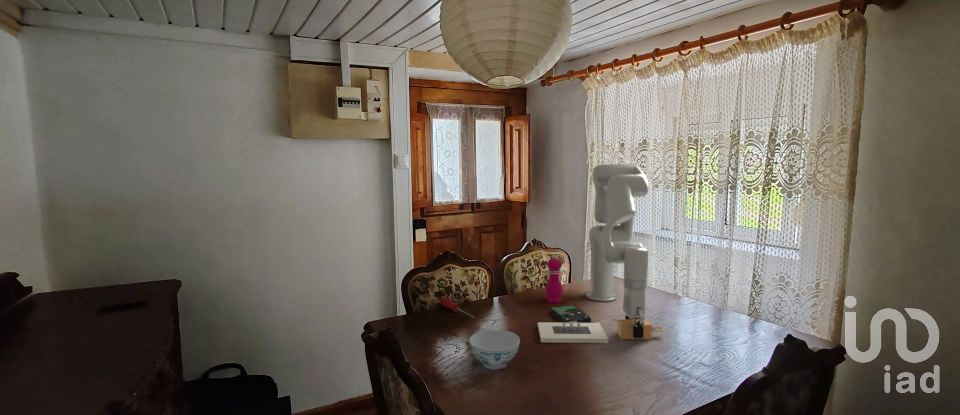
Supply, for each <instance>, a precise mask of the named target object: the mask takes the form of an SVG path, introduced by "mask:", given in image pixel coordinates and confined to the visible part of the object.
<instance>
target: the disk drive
mask: <svg viewBox="0 0 960 415" xmlns="http://www.w3.org/2000/svg"><path fill="white" fill-rule="evenodd" d="M550 314H551V315H552V316H554V317H555V318H556V319H557V320H558V321H560V322H559V323H563V322H565V323H570V322H572V323H578V322H579V323H592V317H590V316H589V315H588V314H587V313H585V312H584V311H582V310H581V309H580V308H579V307H577V306H576V305H574V304H573V305H563V306H557V307H553V306H552V307H551V308H550Z"/></svg>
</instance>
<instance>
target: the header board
mask: <svg viewBox="0 0 960 415" xmlns="http://www.w3.org/2000/svg"><path fill="white" fill-rule="evenodd" d="M537 329H538V334H539V338H540V343H558V344H559V343H561V344H563V343H564V344H565V343H568V344H570V343H571V344H586V343H587V344H609V338H608V336H607V334H606V332H605V331H604V329H603V327H602V325H601V323H600V322H591V323H579V322H578V323H572V322H570V323H565V322H563V323H562V322H541V321H540V322H539V321H538V322H537Z"/></svg>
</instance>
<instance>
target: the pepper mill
mask: <svg viewBox="0 0 960 415" xmlns="http://www.w3.org/2000/svg"><path fill="white" fill-rule="evenodd" d="M551 257H552V258H550V259H548V261H547V264H546V265H547V268H548V270H547V271H548V272H547V273H548V274H549V280H548V282H547V284H546V287H545V294H546V295H547V296H546V301H547V302H548V303H552V304H558V303H562V301H563V300H562V294H563V293H564V290H563V286H562V284H561V281H560V274H561V268H562V266H563V265H562V261H561V260H560V259H559V258H557V255H556V254H553V255H552V256H551Z"/></svg>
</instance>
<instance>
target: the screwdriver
mask: <svg viewBox="0 0 960 415" xmlns="http://www.w3.org/2000/svg"><path fill="white" fill-rule="evenodd" d="M439 303H440V305H442V306H443V307H446V308H447V309H451V310H452V311H453V312H454V313H458V312H462V313H463V314H466V315H467V316H469V317H471V318H473V319H475V318H476V317H475V316H474V315H472V314H470V313H467V311H464V310H462V309H461V306H460V304H459V303H454V301H453V300H451V299H450V298H448V297H446V296H442V297H440V298H439Z"/></svg>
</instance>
